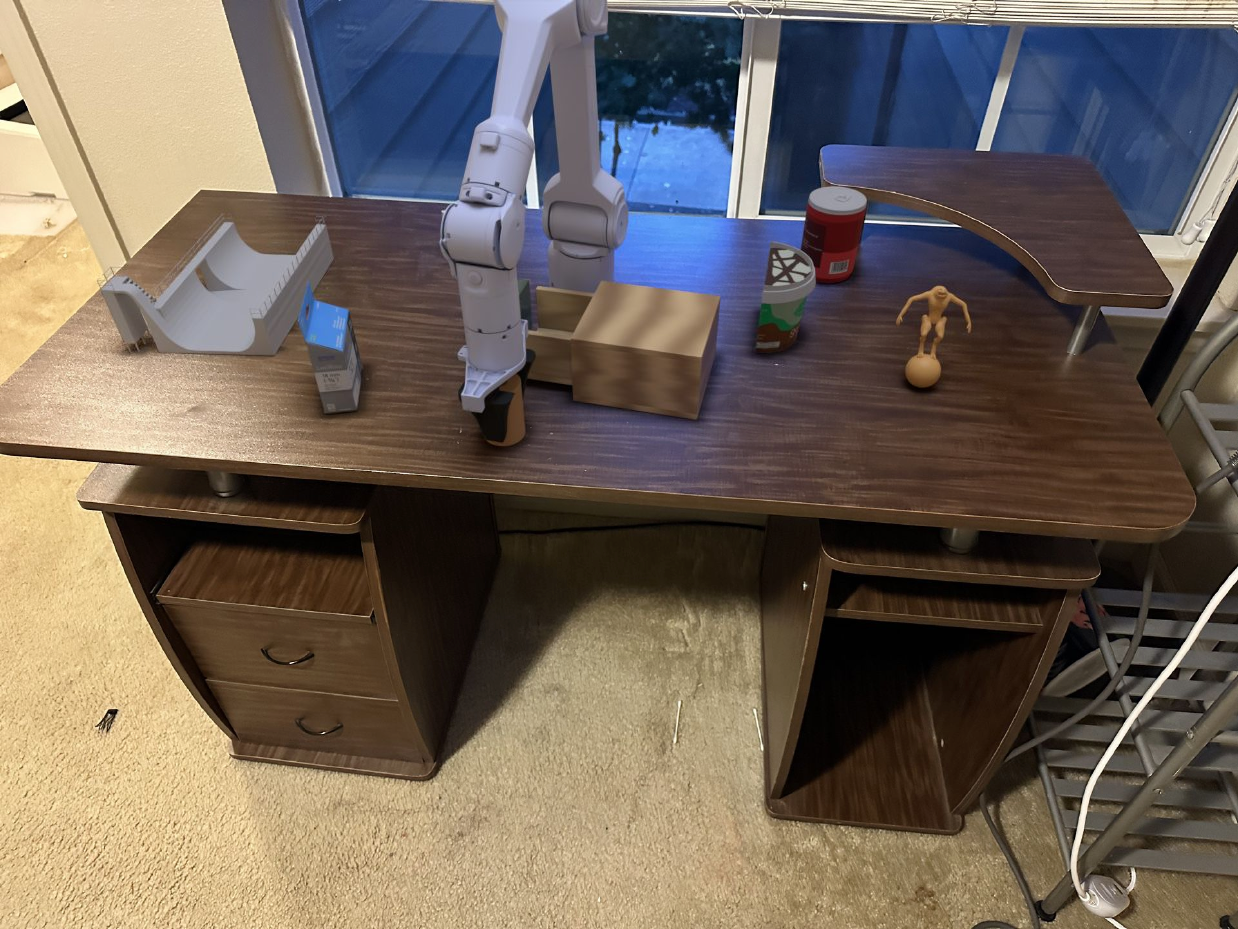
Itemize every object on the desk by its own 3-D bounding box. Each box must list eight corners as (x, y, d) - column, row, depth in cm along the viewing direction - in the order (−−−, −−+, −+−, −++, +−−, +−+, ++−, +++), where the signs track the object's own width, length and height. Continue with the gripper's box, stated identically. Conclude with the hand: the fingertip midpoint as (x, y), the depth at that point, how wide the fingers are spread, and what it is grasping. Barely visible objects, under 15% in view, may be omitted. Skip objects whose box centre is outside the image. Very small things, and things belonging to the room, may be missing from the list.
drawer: (457, 373, 102) (450, 324, 97) (492, 321, 110) (487, 274, 106) (601, 395, 99) (600, 346, 94) (625, 340, 107) (626, 292, 103)
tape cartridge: (359, 412, 98) (335, 319, 89) (323, 415, 97) (296, 322, 89) (364, 367, 104) (342, 277, 96) (331, 370, 104) (306, 280, 96)
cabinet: (572, 400, 99) (570, 338, 94) (601, 340, 109) (601, 280, 103) (696, 420, 97) (701, 357, 91) (715, 356, 106) (720, 295, 100)
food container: (804, 365, 105) (816, 293, 98) (753, 359, 106) (763, 287, 99) (807, 313, 114) (819, 244, 107) (761, 308, 115) (770, 239, 108)
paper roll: (477, 428, 95) (470, 377, 91) (514, 415, 97) (509, 364, 93) (494, 451, 93) (488, 399, 88) (532, 437, 94) (528, 386, 90)
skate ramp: (274, 355, 106) (251, 284, 99) (127, 351, 107) (95, 280, 100) (334, 258, 125) (318, 193, 118) (209, 255, 125) (186, 190, 119)
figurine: (883, 389, 101) (906, 301, 93) (882, 361, 106) (904, 274, 98) (956, 398, 100) (986, 309, 92) (952, 369, 104) (979, 281, 96)
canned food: (860, 266, 123) (875, 193, 116) (839, 290, 118) (854, 215, 111) (810, 252, 126) (822, 181, 119) (788, 275, 121) (799, 201, 114)
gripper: (480, 278, 91) (492, 381, 100) (425, 352, 81) (444, 460, 90) (543, 286, 90) (550, 390, 99) (495, 363, 79) (507, 471, 88)
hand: (503, 424), depth 94 cm, fingers closed on paper roll, 5 cm apart
